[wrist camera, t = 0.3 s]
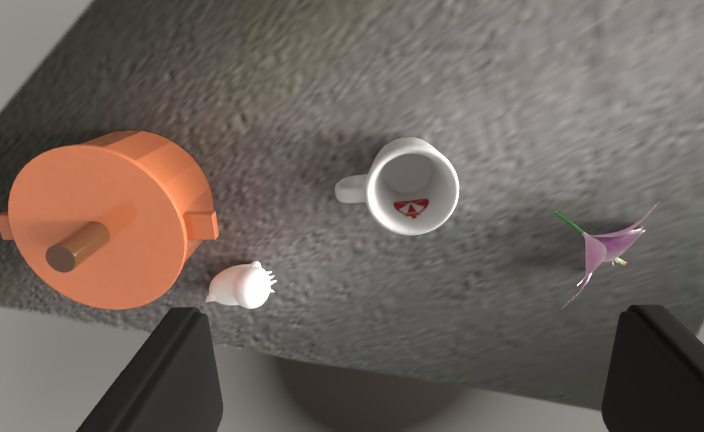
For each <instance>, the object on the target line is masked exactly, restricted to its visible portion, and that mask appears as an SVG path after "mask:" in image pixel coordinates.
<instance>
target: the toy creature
mask: <svg viewBox="0 0 704 432" xmlns="http://www.w3.org/2000/svg"><path fill="white" fill-rule="evenodd" d="M271 272H272V271H271ZM271 272H266V271H265V270H264V269H263V268H261V264H260V263H259V262H258V261H253V262H252V263H251V264H241V265H236V266H232V267H230V268H227V269H225V270H223V271H221V272H220V273H219V274H218V275H216V276H215V277H214V279H213V280H212V281H211V283H210V287H209V295H208V297H207V298H206V300H205V302H210V301H216V302H218V303H220V304H224V305H241V306H242V307H244V308H248V309H252V308H257V307H259V306H261V305H262V304H263V303H264V302H265V301H266V300H267V298H268V295H269V293H270V292H274V291H273V290H272V289H270V285H272V284H273V283H275V282H276V281H269V280H270V279H271V278H272V277H274V276H269V275H268V274H269V273H271Z"/></svg>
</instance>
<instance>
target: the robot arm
mask: <svg viewBox="0 0 704 432" xmlns="http://www.w3.org/2000/svg"><path fill="white" fill-rule="evenodd" d="M222 414H223V402H222V396H221V391H220V385H219V379H218V373H217V367H216V362H215V356H214V350H213V344H212V338H211V333H210V327H209V321H208V317H207V315H206V314H205V313H203V314H201V313H200V310H199V309H198V308H197V307H174V308H171V309H170V310H169V311H168V313H167V314H166V315H165V317H164V318H163V319H162V320H161V322H160V323H159V324H158V326H157V327H156V328H155V330H154V331H153V332H152V334H151V335H150V336H149V337H148V339H147V340H146V341H145V343H144V344H143V345H142V347H141V348H140V349H139V351H138V352H137V353H136V354H135V356H134V357H133V359H132V360H131V361H130V363H129V364H128V365H127V366H126V368H125V369H124V370H123V371H122V372H121V373H120V375H119V376H118V377H117V379H116V380H115V381H114V383H113V384H112V385H111V387H110V388H109V389H108V391H107V392H106V393H105V395H104V396H103V397H102V398H101V400H100V401H99V402H98V404H97V405H96V406H95V408H94V409H93V410H92V411H91V413H90V414H89V415H88V417H87V418H86V419H85V421H84V422H83V423H82V424H81V426H80V427H79V428H78V430H77V431H76V432H217V429H218V427H219V424H220V422H221V419H222ZM602 417H603V421H604V423H605V425H606V427H607V429H608V430H609V432H704V344H703V343H702V342H701V341H699V339H697V338H696V337H695V336H694V335H693V334H692V333H691V332H690V331H689V330H688V329H687V328H686V327H685V326H684V325H683V324H682V323H680V322H679V321H678V320H677V319H676V318H675V317H674V316H673V315H672V314H671V313H670V312H669V311H668V310H667V309H666V308H664V307H663V306H661V305H631V306H630V307H629V308H628V309H627V312H622V313H621V314H620V316H619V320H618V325H617V331H616V336H615V341H614V346H613V351H612V356H611V361H610V366H609V371H608V377H607V382H606V387H605V392H604V397H603V402H602Z"/></svg>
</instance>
